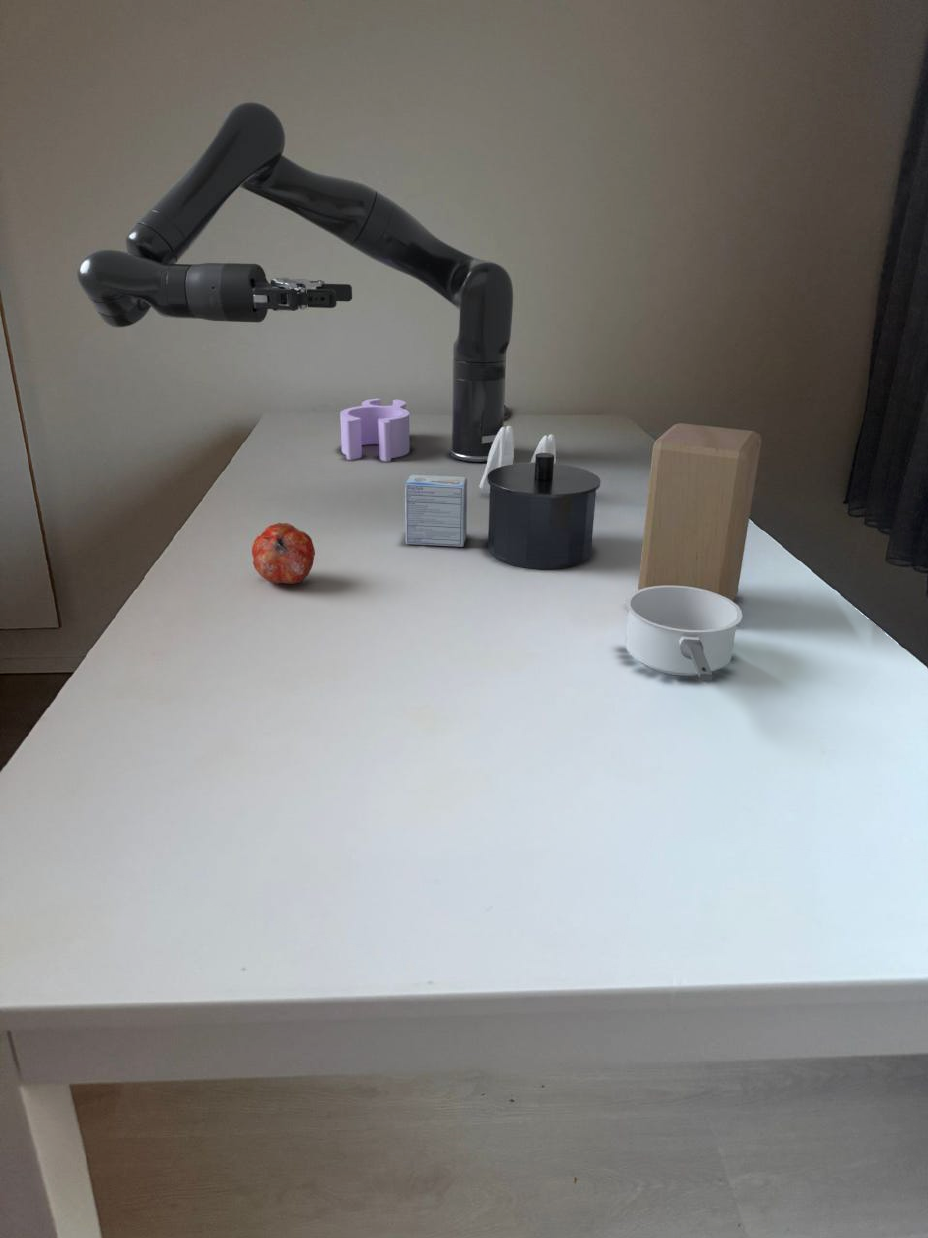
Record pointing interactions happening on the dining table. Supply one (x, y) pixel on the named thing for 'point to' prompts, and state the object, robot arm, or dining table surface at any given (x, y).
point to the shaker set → (511, 453)
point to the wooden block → (699, 508)
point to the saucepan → (681, 629)
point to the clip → (375, 429)
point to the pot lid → (543, 479)
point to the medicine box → (436, 510)
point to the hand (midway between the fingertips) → (343, 295)
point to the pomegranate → (283, 554)
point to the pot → (540, 529)
